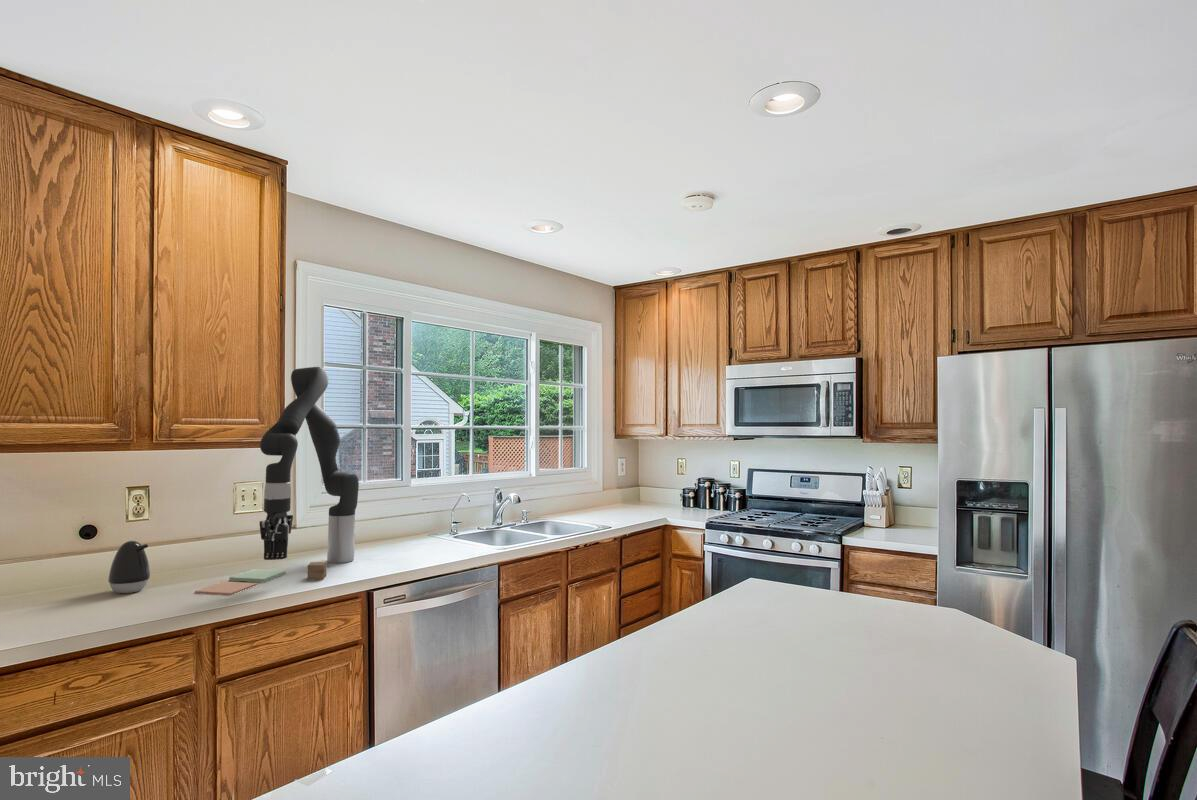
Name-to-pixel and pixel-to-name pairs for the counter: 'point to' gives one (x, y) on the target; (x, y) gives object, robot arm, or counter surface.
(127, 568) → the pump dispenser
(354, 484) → the robot arm
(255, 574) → the sage tile
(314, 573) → the walnut block
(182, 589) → the counter surface
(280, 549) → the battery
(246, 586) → the terracotta tile
